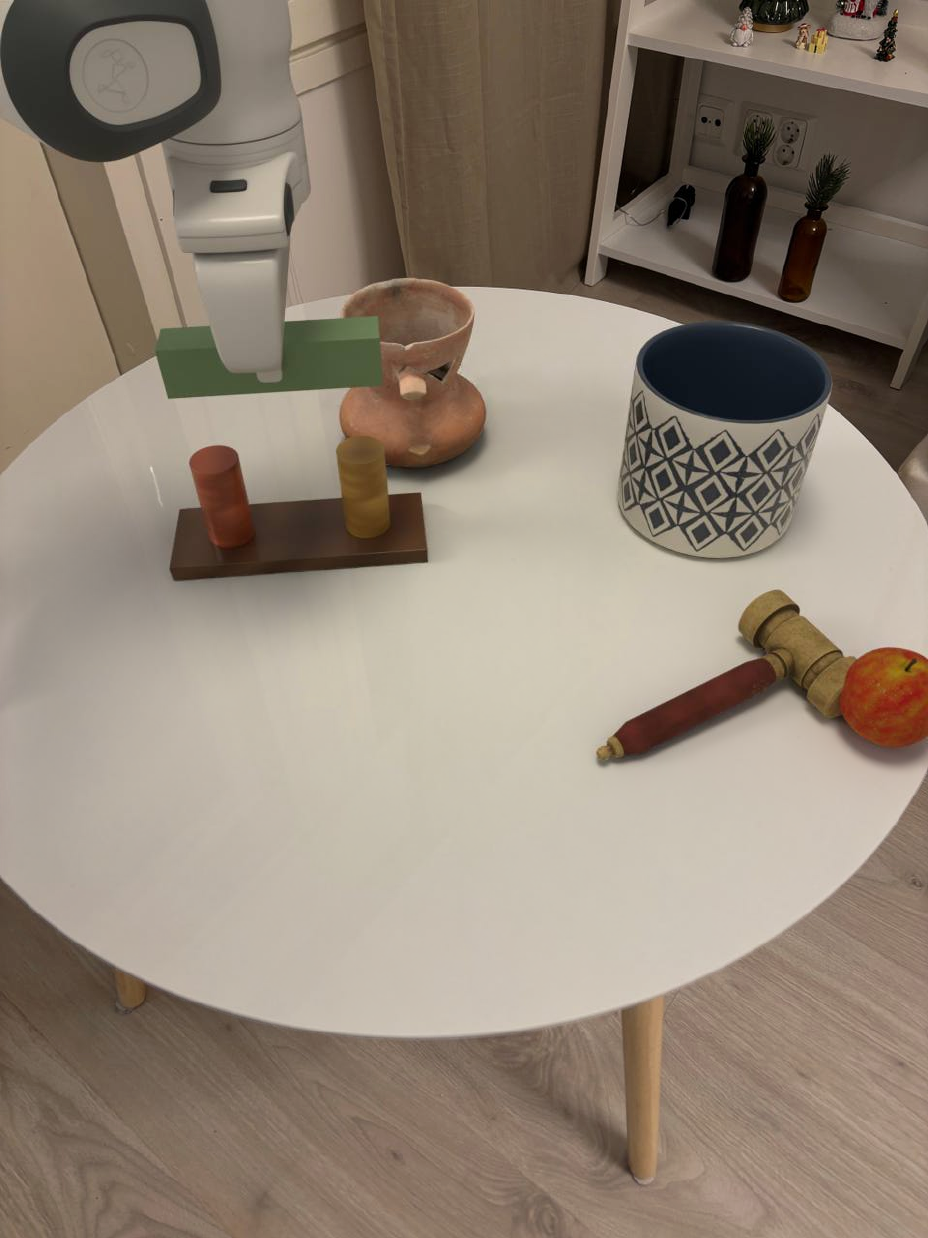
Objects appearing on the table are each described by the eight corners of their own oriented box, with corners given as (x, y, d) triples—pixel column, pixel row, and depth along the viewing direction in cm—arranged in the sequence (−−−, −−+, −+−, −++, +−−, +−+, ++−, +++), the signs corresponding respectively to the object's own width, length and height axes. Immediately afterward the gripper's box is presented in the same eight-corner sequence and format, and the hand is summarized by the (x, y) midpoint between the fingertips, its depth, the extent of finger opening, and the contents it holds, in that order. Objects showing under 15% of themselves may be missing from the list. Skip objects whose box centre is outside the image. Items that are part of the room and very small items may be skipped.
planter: (805, 478, 90) (848, 342, 79) (769, 583, 80) (813, 443, 69) (645, 439, 94) (666, 305, 84) (593, 533, 84) (609, 394, 74)
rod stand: (173, 581, 81) (145, 493, 74) (183, 521, 86) (158, 434, 79) (427, 562, 82) (423, 474, 75) (421, 504, 88) (417, 418, 81)
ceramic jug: (493, 487, 89) (496, 353, 79) (341, 495, 89) (324, 360, 78) (477, 384, 102) (477, 257, 92) (343, 391, 101) (329, 263, 91)
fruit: (826, 684, 72) (856, 611, 66) (921, 699, 71) (961, 627, 65) (829, 756, 67) (863, 685, 61) (931, 774, 66) (975, 703, 60)
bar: (168, 399, 69) (154, 350, 67) (172, 375, 72) (160, 328, 69) (383, 385, 70) (379, 337, 68) (381, 363, 73) (377, 315, 70)
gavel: (641, 792, 62) (560, 688, 68) (636, 827, 65) (559, 725, 71) (882, 664, 67) (788, 579, 73) (866, 703, 71) (777, 618, 77)
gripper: (204, 114, 67) (239, 296, 77) (170, 238, 53) (218, 442, 63) (293, 110, 67) (316, 292, 77) (282, 233, 53) (313, 436, 63)
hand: (272, 361), depth 70 cm, fingers closed on bar, 3 cm apart
